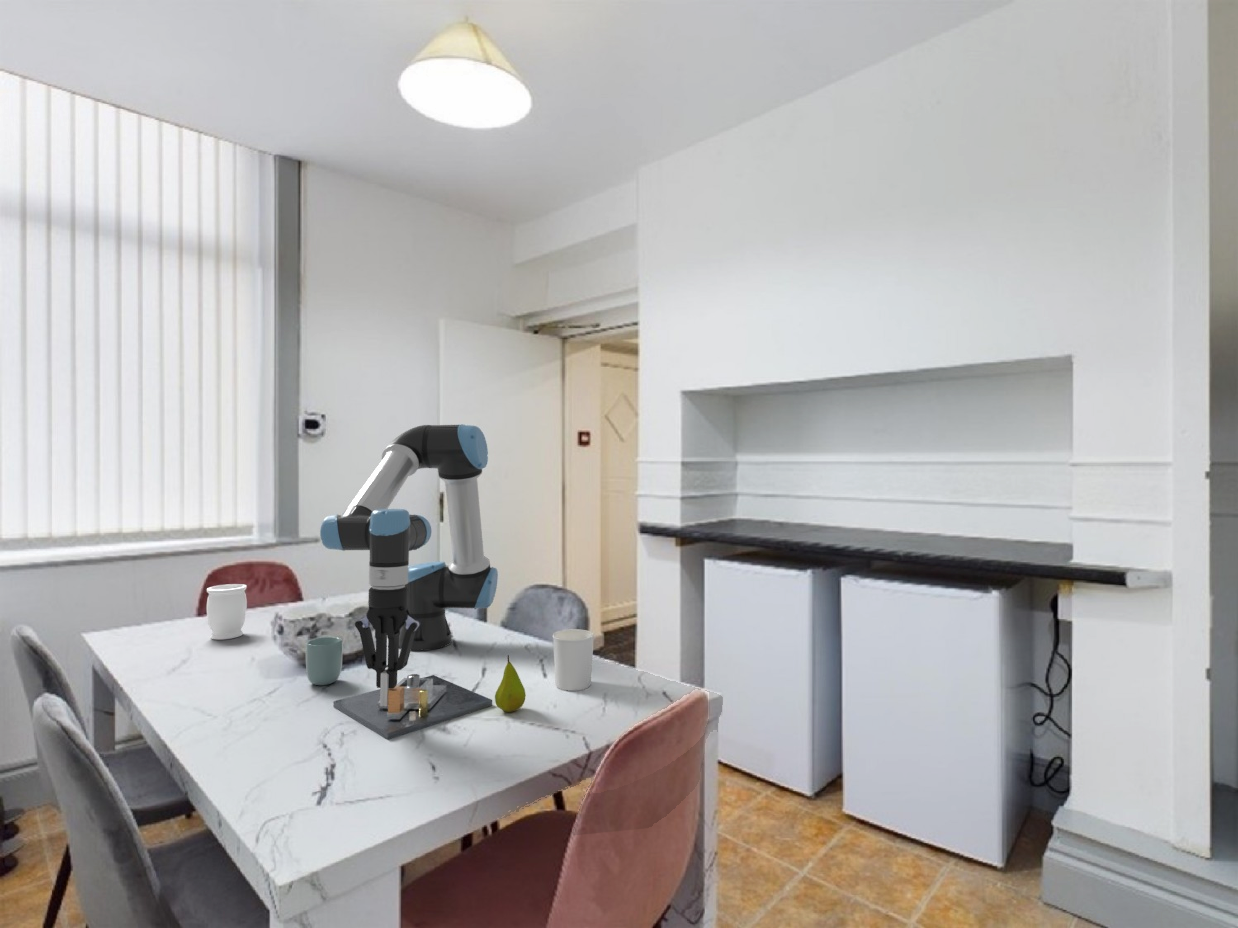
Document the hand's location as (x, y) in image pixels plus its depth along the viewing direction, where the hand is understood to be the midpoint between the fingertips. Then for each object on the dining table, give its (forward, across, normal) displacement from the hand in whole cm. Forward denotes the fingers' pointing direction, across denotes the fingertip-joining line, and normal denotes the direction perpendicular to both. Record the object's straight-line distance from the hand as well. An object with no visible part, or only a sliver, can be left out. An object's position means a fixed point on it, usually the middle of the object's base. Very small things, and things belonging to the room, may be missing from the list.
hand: (386, 703), depth 131 cm
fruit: (+4, +23, +9) cm, 25 cm away
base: (+4, +2, +10) cm, 11 cm away
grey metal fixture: (+3, +2, +7) cm, 8 cm away
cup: (+4, -25, +23) cm, 34 cm away
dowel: (+3, +7, +2) cm, 8 cm away
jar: (+5, -76, +60) cm, 97 cm away
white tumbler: (+4, +34, +26) cm, 43 cm away
